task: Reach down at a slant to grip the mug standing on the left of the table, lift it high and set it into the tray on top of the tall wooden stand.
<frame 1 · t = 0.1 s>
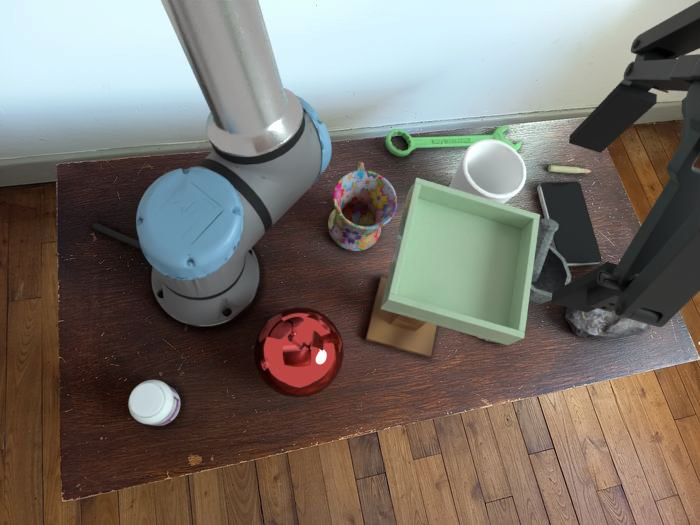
hand: (577, 218, 40), 44 cm above the table, tool pointing down, fingers open, 13 cm apart
bullet: (548, 168, 95), point 1 cm above the table
pill bottle: (160, 406, 73), on the table
smartphone: (566, 224, 92), on the table
rock: (605, 331, 88), on the table
ball: (296, 359, 78), on the table
cup: (464, 205, 90), on the table, touching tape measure
mortar and pestle: (515, 283, 86), on the table
wristwatch: (490, 333, 84), on the table
wrench: (451, 126, 94), point 1 cm above the table
stand: (403, 317, 82), on the table
mug: (353, 221, 86), on the table
tray: (456, 266, 60), resting on stand
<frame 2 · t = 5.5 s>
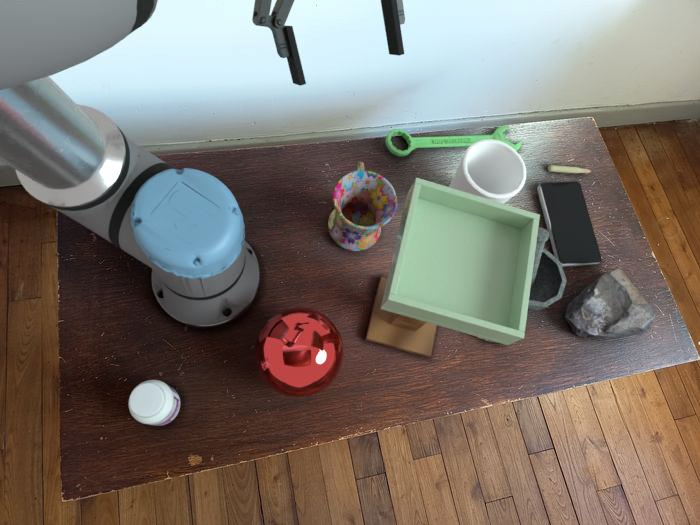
hand: (349, 68, 67), 24 cm above the table, tool tilted 45°, fingers open, 13 cm apart
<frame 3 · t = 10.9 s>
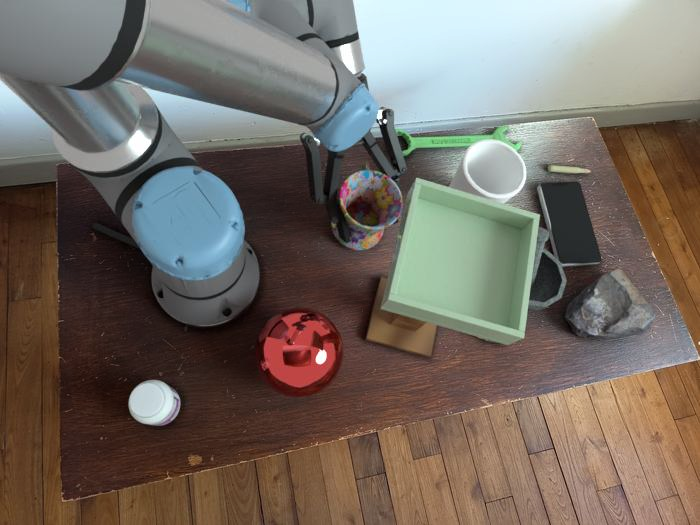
hand: (369, 229, 82), 4 cm above the table, tool tilted 45°, fingers closed on mug, 7 cm apart
mug: (356, 220, 86), on the table, touching gripper
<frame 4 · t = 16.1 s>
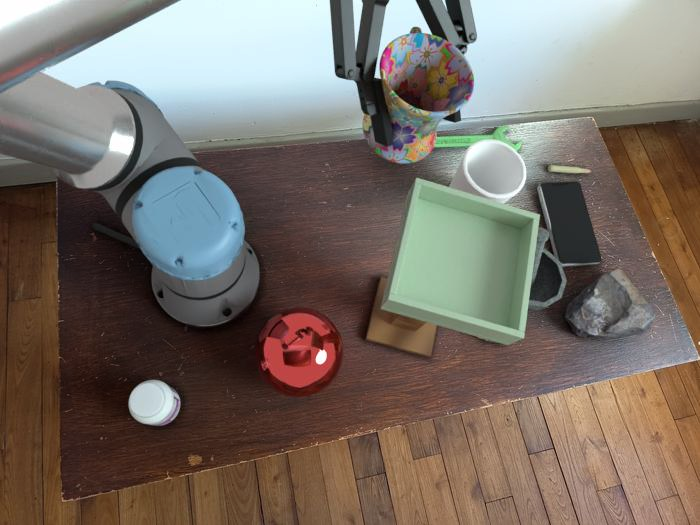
hand: (418, 130, 56), 31 cm above the table, tool tilted 45°, fingers closed on mug, 7 cm apart
mug: (396, 124, 61), point 27 cm above the table, touching gripper
when the fingers open (29 cm above the table, at t = 21.3 s): mug stays where it is, resting on tray.
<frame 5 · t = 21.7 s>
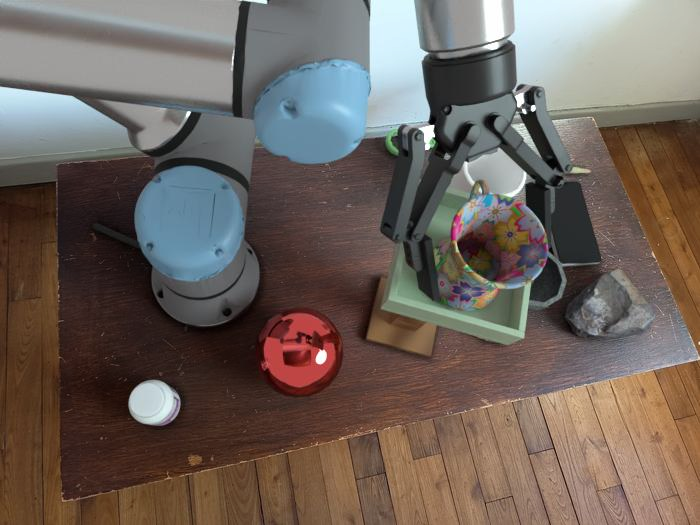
hand: (486, 268, 54), 30 cm above the table, tool tilted 45°, fingers open, 13 cm apart
mug: (458, 264, 59), point 25 cm above the table, touching tray
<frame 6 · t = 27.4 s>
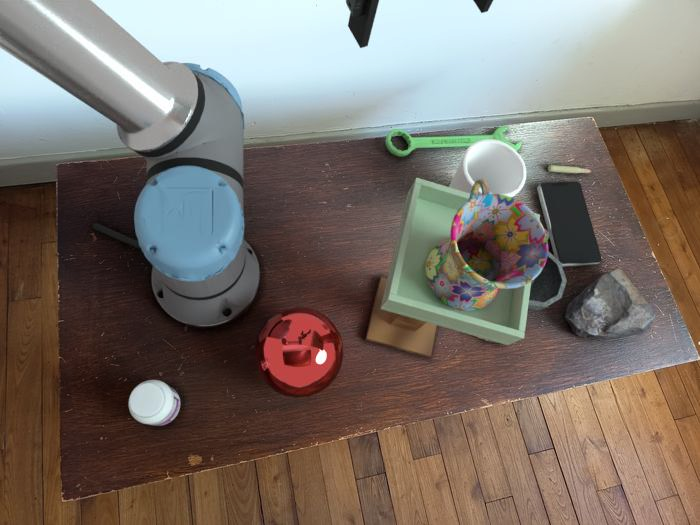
hand: (419, 18, 52), 39 cm above the table, tool pointing down, fingers open, 13 cm apart
at the end: mug inside the target area on the tray (0.1 cm from its centre), point 0.6 cm above the tray's base; mug tilted 0°; the gripper is holding nothing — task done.
